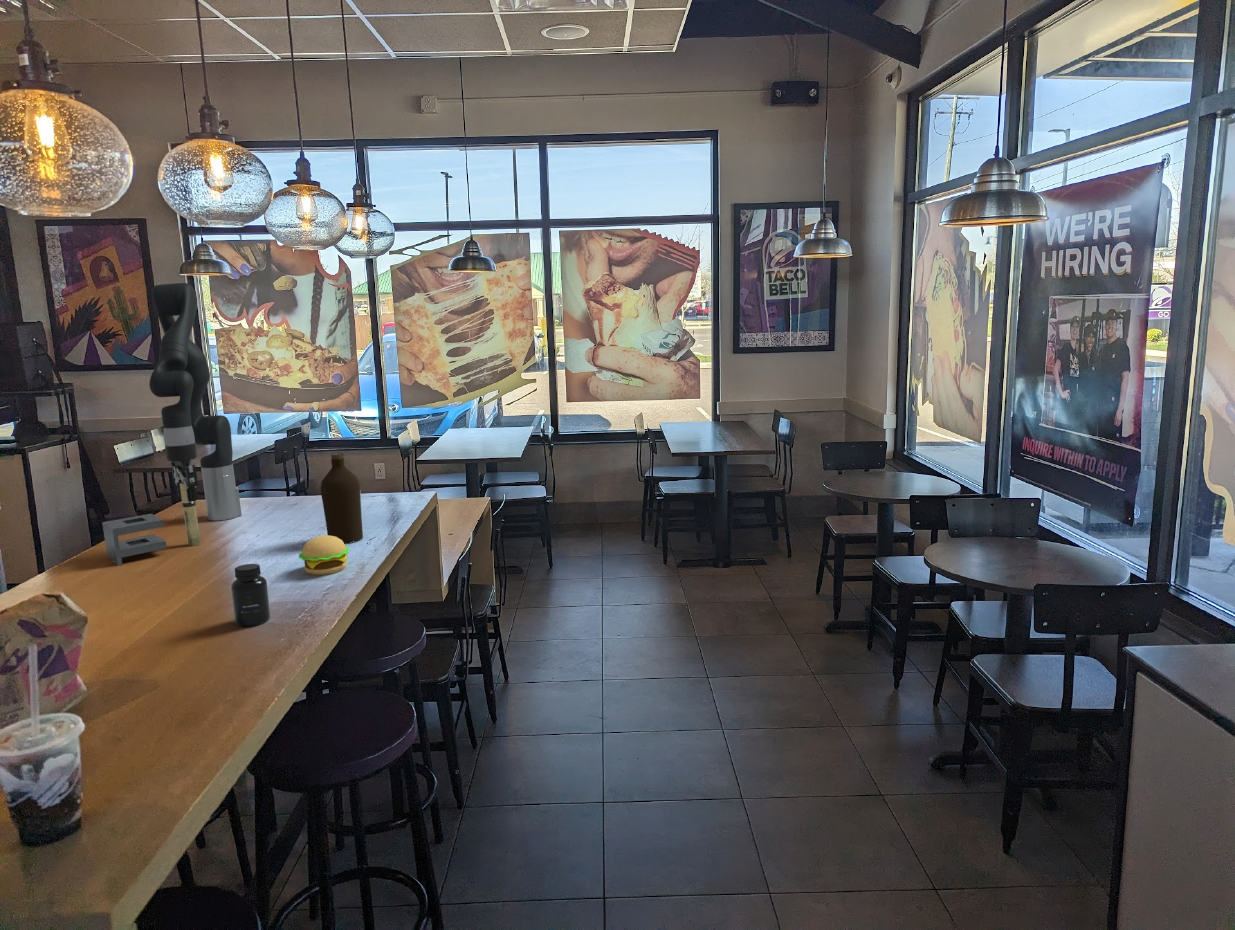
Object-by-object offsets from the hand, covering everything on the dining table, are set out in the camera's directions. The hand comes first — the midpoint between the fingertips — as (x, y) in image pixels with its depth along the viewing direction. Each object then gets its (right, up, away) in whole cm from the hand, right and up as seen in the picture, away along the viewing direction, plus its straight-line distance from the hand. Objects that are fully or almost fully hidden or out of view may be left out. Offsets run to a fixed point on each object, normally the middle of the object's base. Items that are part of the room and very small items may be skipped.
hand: (187, 499), depth 227 cm
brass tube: (+1, -13, +3) cm, 13 cm away
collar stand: (-9, -15, -7) cm, 19 cm away
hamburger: (+48, -17, -25) cm, 57 cm away
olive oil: (+44, -12, +2) cm, 46 cm away
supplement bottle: (+45, -24, -58) cm, 77 cm away
